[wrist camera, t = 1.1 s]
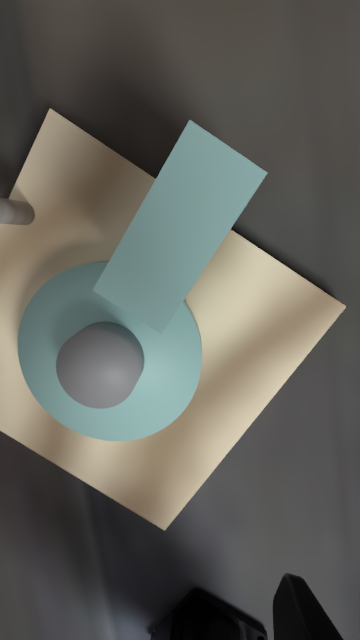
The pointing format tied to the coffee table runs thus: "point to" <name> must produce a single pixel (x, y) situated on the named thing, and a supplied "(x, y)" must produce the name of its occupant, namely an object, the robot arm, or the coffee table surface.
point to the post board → (203, 299)
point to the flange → (137, 302)
